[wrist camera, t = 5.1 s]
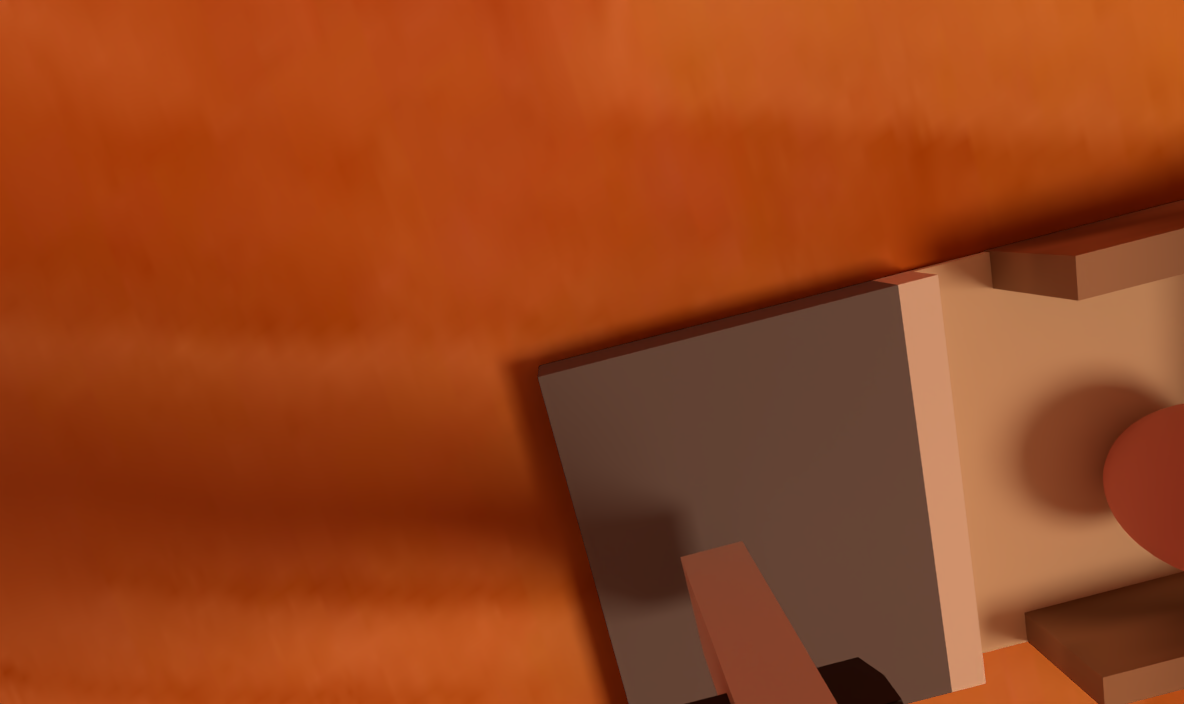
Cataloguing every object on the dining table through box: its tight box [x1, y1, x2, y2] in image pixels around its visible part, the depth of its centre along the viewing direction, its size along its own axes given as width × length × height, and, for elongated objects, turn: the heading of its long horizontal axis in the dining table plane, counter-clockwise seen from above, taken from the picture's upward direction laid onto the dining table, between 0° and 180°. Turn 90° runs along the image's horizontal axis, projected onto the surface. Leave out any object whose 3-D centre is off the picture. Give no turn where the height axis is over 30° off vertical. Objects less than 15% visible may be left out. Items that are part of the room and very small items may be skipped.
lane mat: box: [538, 252, 1184, 704], centre depth 16 cm, size 20×12×1 cm, turn 104°
